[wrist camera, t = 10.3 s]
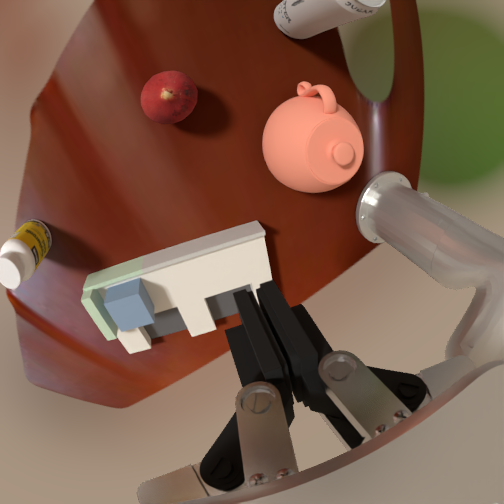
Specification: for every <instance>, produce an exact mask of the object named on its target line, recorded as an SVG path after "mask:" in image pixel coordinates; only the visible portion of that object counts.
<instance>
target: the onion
mask: <svg viewBox="0 0 504 504" xmlns="http://www.w3.org/2000/svg"><path fill="white" fill-rule="evenodd" d="M197 93H198V91H197V88H196V86H195V84H194V82H193V80H192V79H191V78H189V77H188V76H187V75H186V74H184V73H181V72H178V71H164V72H161V73H159V74H156V75H154V76H153V77H152V78H151V79H150V80H149V81H148V82H147V83H146V84H145V86H144V88H143V91H142V93H141V106H142V108H143V110H144V113H145V114H146V115H147V116H148V117H149V118H150V119H151V120H152V121H155V122H158V123H161V124H173V123H176V122H179V121H182V120H183V119H185V118H186V117H187V116H188V115H189V114H190V113H191V112H192V111H193V109H194V107H195V105H196V103H197Z"/></svg>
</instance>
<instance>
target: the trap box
mask: <svg viewBox="0 0 504 504" xmlns="http://www.w3.org/2000/svg"><path fill="white" fill-rule="evenodd" d="M264 235H266V234H265V230H264V229H263V228H262V226H261V225H260V224H259V222H258V221H257V220H256V221H253V222H250V223H246V224H243V225H240V226H236V227H233V228H230V229H226V230H223V231H220V232H217V233H213V234H210V235H207V236H204V237H200V238H197V239H194V240H191V241H188V242H185V243H182V244H178V245H175V246H172V247H169V248H166V249H163V250H160V251H157V252H154V253H151V254H148V255H145V256H142V257H139V258H136V259H133V260H130V261H127V262H124V263H121V264H118V265H115V266H112V267H109V268H106V269H103V270H101V271H98V272H95V273H92V274H89V275H88V276H87V279H86V282H85V284H84V287H83V291H84V292H83V295H82V298H81V302H82V303H83V305H84V307H85V308H86V310H87V311H88V313H89V314H90V316H91V317H92V319H93V320H94V322H95V323H96V325H97V326H98V328H99V329H100V330H101V332H102V333H103V335H104V336H105V337H106V339H107V340H112V339H116V338H117V337H118V338H119V340H120V341H121V343H122V344H123V345H124V347H125V348H126V350H127V351H128V352H129V354H131V353H135V352H139V351H143V350H146V349H150V348H151V339H153V338H156V337H160V336H164V335H167V334H171V333H174V332H178V331H181V330H184V329H188V330H189V332H190V334H191V336H192V337H193V336H196V335H200V334H203V333H206V332H210V331H213V330H216V326H215V322H214V320H217V319H220V318H224V317H227V316H230V315H233V314H236V313H239V312H238V309H237V306H236V303H235V300H234V296H233V293H234V292H237V291H240V290H243V289H246V290H247V292H249V291H253V294H254V296H255V298H256V300H257V302H258V297H257V293H256V289H258V288H260V284H261V283H264V282H267V281H270V280H272V275H271V270H270V265H269V259H268V254H267V249H266V243H265V238H264ZM137 278H141V280H142V282H143V284H144V286H145V288H146V290H147V292H148V294H149V296H150V298H151V300H152V302H153V304H154V323H152V324H148V325H145V326H141V327H138V328H134V329H130V330H127V331H123V332H121V331H120V329H119V328H118V326H117V325H116V323H115V322H114V320H113V319H112V317H111V315H110V314H109V312H108V311H107V309H106V307H105V306H104V300H105V296H106V292H107V288H109V287H112V286H115V285H118V284H121V283H124V282H128V281H131V280H134V279H137ZM258 304H259V302H258Z"/></svg>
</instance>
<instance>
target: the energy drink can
mask: <svg viewBox="0 0 504 504" xmlns="http://www.w3.org/2000/svg"><path fill="white" fill-rule="evenodd" d="M385 1H386V0H284V1H282V2H281V3H280V4H279V5H278V6H277V7H276V9H275V11H274V20H275V23H276V25H277V26H278V28H279V29H280V30H281V31H282V32H283V33H285V34H286V35H288V36H290V37H292V38H296V39H306V38H309V37H312V36H314V35H316V34H319V33H322V32H324V31H327V30H329V29H332V28H335V27H337V26H340V25H343V24H346V23H349V22H352V21H355V20H358V19H362V18H365V17H368V16H371V15H373V14H375V13H376V12H377V10H378V9H379V7H380V6H382V5H383V4H384V3H385Z"/></svg>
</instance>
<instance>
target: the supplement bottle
mask: <svg viewBox="0 0 504 504" xmlns="http://www.w3.org/2000/svg"><path fill="white" fill-rule="evenodd" d="M51 241H52V239H51V234H50V231H49V229H48V228H47V226H46V225H45V224H44V223H42V222H41V221H39V220H35V219H33V220H29V221H27V222H26V223H24V224H23V225H22V226H21V227H20V228H19V229H18V230H17V231H16V232H15V233H14V234H13V235H12V236H11V237H10V238H9V239H8V240H7V241H6V243H5V244H4V245H3V246H2V249H1V252H0V283H1V284H2V285H4V286H5V287H7V288H9V289H15V288H17V287H18V286H19V285H20V284H21V282H22V281H26V280H28V279H29V278H30V277H31V276H32V275H33V273H34V272H35V270H36V269H37V267H38V266H39V264H40V263H41V261H42V260H43V258H44V257H45V255H46V254H47V252H48V251H49V249H50V247H51Z"/></svg>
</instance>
